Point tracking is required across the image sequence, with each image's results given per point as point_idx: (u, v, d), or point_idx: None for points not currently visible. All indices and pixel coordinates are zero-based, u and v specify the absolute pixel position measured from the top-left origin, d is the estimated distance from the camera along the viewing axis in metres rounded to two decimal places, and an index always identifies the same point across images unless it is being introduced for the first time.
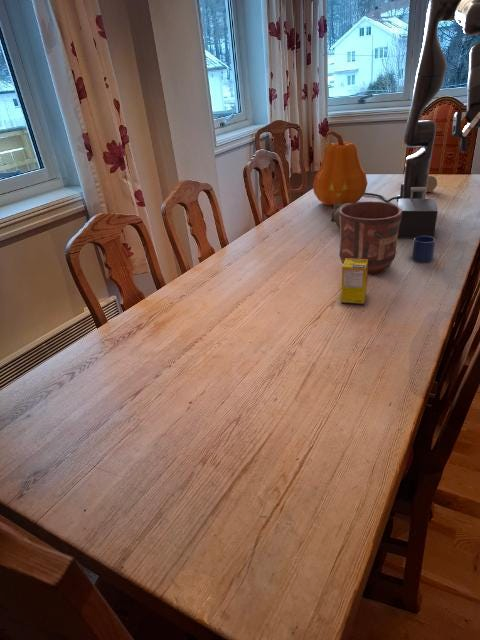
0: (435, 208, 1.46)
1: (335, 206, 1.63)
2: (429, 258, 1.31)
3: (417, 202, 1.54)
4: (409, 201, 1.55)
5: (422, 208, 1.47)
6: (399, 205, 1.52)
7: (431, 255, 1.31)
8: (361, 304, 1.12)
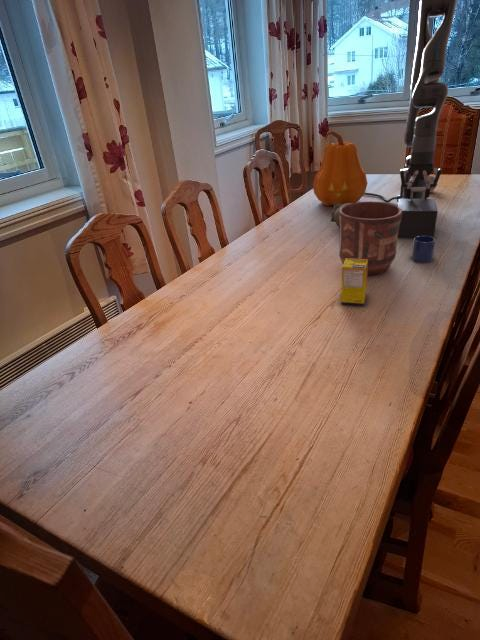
0: (435, 208, 1.46)
1: (335, 206, 1.63)
2: (429, 258, 1.31)
3: (417, 202, 1.54)
4: (409, 201, 1.55)
5: (422, 208, 1.47)
6: (399, 205, 1.52)
7: (431, 255, 1.31)
8: (361, 304, 1.12)
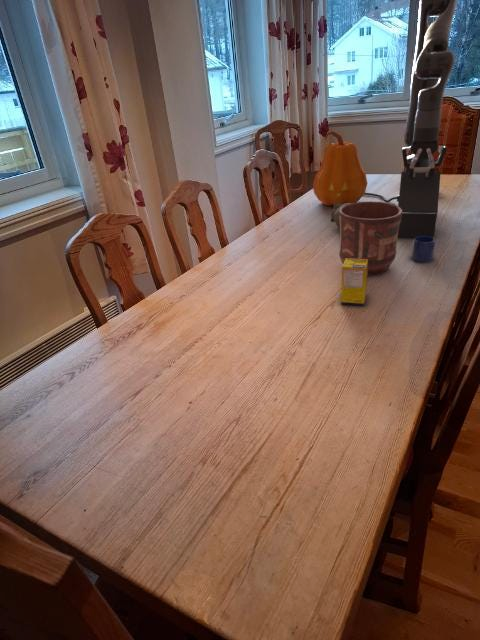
0: (436, 203, 1.44)
1: (335, 206, 1.63)
2: (429, 258, 1.31)
3: (419, 183, 1.47)
4: (412, 181, 1.48)
5: (422, 204, 1.45)
6: (400, 194, 1.48)
7: (431, 255, 1.31)
8: (361, 304, 1.12)
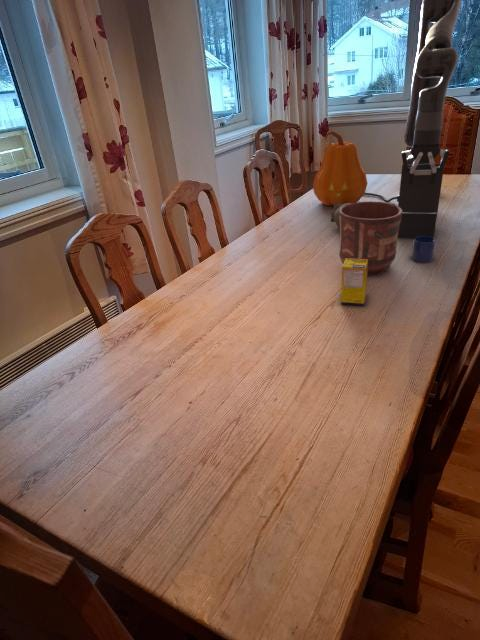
0: (437, 203, 1.42)
1: (335, 206, 1.63)
2: (429, 258, 1.31)
3: (421, 179, 1.40)
4: None
5: (423, 204, 1.43)
6: (400, 193, 1.44)
7: (431, 255, 1.31)
8: (361, 304, 1.12)
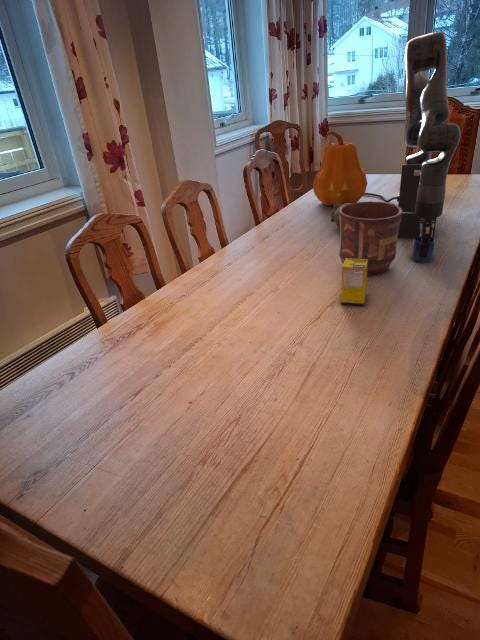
0: None
1: (335, 206, 1.63)
2: (429, 258, 1.31)
3: None
4: (413, 177, 1.41)
5: None
6: (400, 193, 1.44)
7: (431, 255, 1.31)
8: (361, 304, 1.12)
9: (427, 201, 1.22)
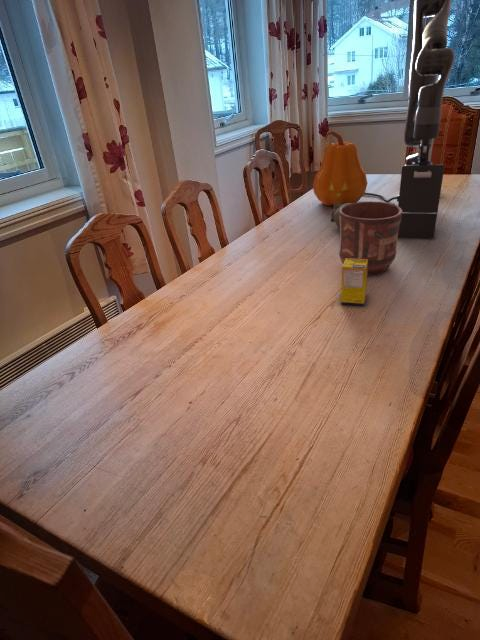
0: (437, 203, 1.42)
1: (335, 206, 1.63)
2: None
3: (421, 179, 1.39)
4: (413, 177, 1.40)
5: (423, 205, 1.43)
6: (400, 193, 1.44)
7: None
8: (361, 304, 1.12)
9: (424, 122, 1.34)
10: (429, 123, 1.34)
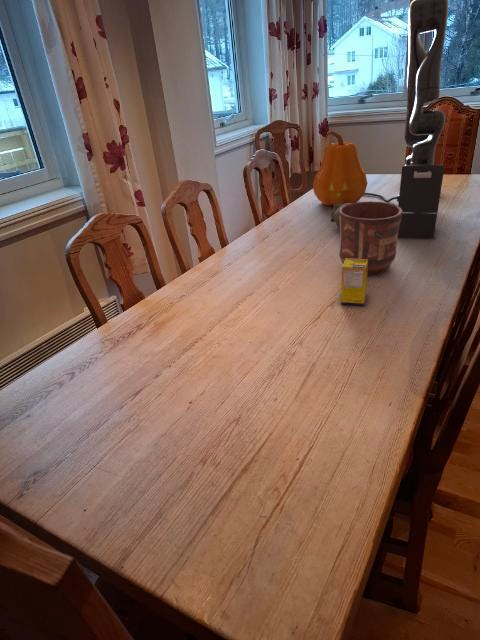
0: (437, 203, 1.41)
1: (335, 206, 1.63)
2: None
3: (421, 180, 1.39)
4: (413, 178, 1.40)
5: (423, 205, 1.43)
6: (400, 193, 1.43)
7: None
8: (361, 304, 1.12)
9: None
10: None
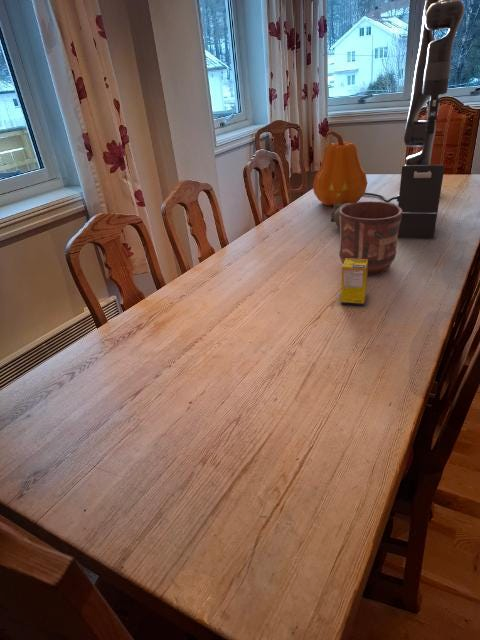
0: (437, 203, 1.41)
1: (335, 206, 1.63)
2: None
3: (421, 180, 1.39)
4: (413, 178, 1.40)
5: (423, 205, 1.43)
6: (400, 193, 1.43)
7: None
8: (361, 304, 1.12)
9: (433, 78, 1.35)
10: (438, 78, 1.35)
